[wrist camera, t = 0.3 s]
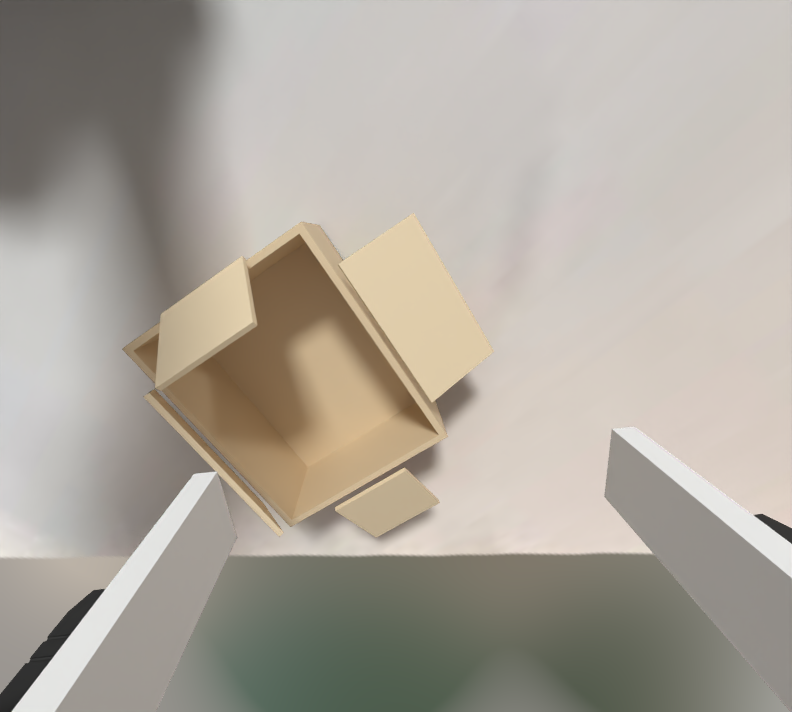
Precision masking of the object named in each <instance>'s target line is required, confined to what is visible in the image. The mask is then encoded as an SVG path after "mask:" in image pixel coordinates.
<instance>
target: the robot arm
mask: <svg viewBox="0 0 792 712" xmlns="http://www.w3.org/2000/svg"><path fill="white" fill-rule="evenodd" d="M604 497H605V498H606V499H607V500H608V501H609V503H610V504H611V505H612V506H613V507H614V508H615V510H616V511H617V512H618V513H619V514H620V515H621V516H622V518H623V519H624V520H625V521H626V522H627V523H628V525H629V526H630V527H631V528H632V529H633V530H634V531H635V533H636V534H637V535H638V536H639V537H640V538H641V540H642V541H643V542H644V543H645V544H646V545H647V546H648V548H649V549H650V550H651V551H652V552H653V553H654V555H655V556H656V557H657V558H658V559H659V560H660V562H661V563H662V564H663V565H664V566H665V567H666V568H667V570H668V571H669V572H670V573H671V574H672V575H673V577H674V578H675V579H676V580H677V581H678V582H679V583H680V585H681V586H682V587H683V588H684V589H685V590H686V592H687V593H688V594H689V595H690V596H691V597H692V598H693V600H694V601H695V602H696V603H697V604H698V605H699V607H700V608H701V609H702V610H703V611H704V612H705V613H706V615H707V616H708V617H709V618H710V619H711V620H712V622H713V623H714V624H715V625H716V626H717V627H718V629H719V630H720V631H721V632H722V633H723V634H724V635H725V637H726V638H727V639H728V640H729V641H730V642H731V644H732V645H733V646H734V647H735V648H736V649H737V650H738V652H739V653H740V654H741V655H742V656H743V657H744V659H746V661H747V662H748V663H749V664H750V665H751V667H752V668H753V669H754V670H755V671H756V672H757V674H758V675H759V676H760V677H761V678H762V679H763V680H764V682H765V683H766V684H767V685H768V686H769V687H770V689H771V690H772V691H773V692H774V693H775V694H776V696H778V698H779V699H780V700H781V701H782V702H783V704H784V705H785V706H786V707H787V708H788V709H789V711H790V712H792V528H790V527H788V526H786V525H784V524H782V523H780V522H778V521H776V520H774V519H771V518H769V517H767V516H765V515H763V514H757V515H752V514H751V513H750V512H748V511H747V510H746V509H744V508H743V507H742V506H740V505H739V504H738V503H736V502H735V501H734V500H732V499H731V498H730V497H728V496H727V495H726V494H724V493H723V492H722V491H720V490H719V489H717V488H716V487H715V486H713V485H712V484H711V483H709V482H708V481H707V480H705V479H704V478H703V477H701V476H700V475H699V474H697V473H696V472H695V471H693V470H692V469H691V468H689V467H688V466H687V465H685V464H684V463H683V462H681V461H680V460H679V459H677V458H676V457H675V456H673V455H672V454H671V453H669V452H668V451H667V450H665V449H664V448H663V447H661V446H660V445H659V444H657V443H656V442H655V441H653V440H652V439H651V438H649V437H648V436H647V435H645V434H644V433H642V432H641V431H640V430H638V429H637V428H636V427H626V428H616V429H612V433H611V442H610V451H609V460H608V469H607V478H606V487H605V496H604ZM236 538H237V536H236V533H235V529H234V526H233V522H232V519H231V516H230V512H229V509H228V506H227V502H226V499H225V495H224V492H223V489H222V485H221V482H220V478H219V475H218V472H208V473H199V474H194V475H193V476H192V477H191V479H190V480H189V481H188V482H187V484H186V485H185V486H184V488H183V489H182V490H181V492H180V493H179V494H178V495H177V497H176V498H175V499H174V501H173V502H172V503H171V505H170V506H169V507H168V508H167V510H166V511H165V512H164V514H163V515H162V516H161V518H160V519H159V520H158V521H157V523H156V524H155V525H154V527H153V528H152V529H151V531H150V532H149V533H148V535H147V536H146V537H145V538H144V540H143V541H142V542H141V544H140V545H139V546H138V548H137V549H136V550H135V551H134V553H133V554H132V555H131V557H130V558H129V559H128V561H127V562H126V563H125V564H124V566H123V567H122V569H121V570H120V571H119V572H118V574H117V575H116V576H115V577H114V579H113V580H112V581H111V583H110V584H109V585H108V587H107V588H106V589H101V590H94V591H92V592H91V593H90V594H88V595H87V596H86V597H85V598H84V599H83V600H81V601H80V602H79V603H78V604H77V605H76V606H74V607H73V608H72V609H71V610H70V611H68V613H67V614H66V615H65V616H64V617H63V619H62V620H61V621H60V622H59V624H58V625H57V626H56V627H55V628H54V630H53V631H52V632H51V633H50V634H49V636H48V639H47V641H45V642H43V643H42V644H41V645H40V647H39V648H38V649H37V650H36V651H35V653H34V654H33V655H32V656H31V658H30V662H29V663H26V664H25V665H24V666H23V667H22V669H21V670H20V671H19V672H18V673H17V675H16V676H15V677H14V678H13V680H12V681H11V682H10V683H9V685H8V686H7V687H6V688H5V689H4V690H3V692H2V693H1V694H0V712H156V710H157V708H158V706H159V704H160V702H161V700H162V697H163V695H164V693H165V691H166V689H167V687H168V685H169V682H170V680H171V678H172V676H173V674H174V672H175V670H176V667H177V665H178V663H179V661H180V659H181V657H182V654H183V652H184V650H185V648H186V646H187V643H188V642H189V639H190V637H191V635H192V633H193V631H194V629H195V626H196V624H197V622H198V620H199V618H200V616H201V614H202V611H203V609H204V607H205V605H206V603H207V601H208V599H209V596H210V594H211V592H212V590H213V588H214V586H215V583H216V581H217V579H218V577H219V575H220V573H221V571H222V568H223V566H224V564H225V562H226V560H227V558H228V556H229V553H230V551H231V549H232V547H233V545H234V543H235V541H236Z"/></svg>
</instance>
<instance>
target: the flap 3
mask: <svg viewBox="0 0 792 712" xmlns="http://www.w3.org/2000/svg"><path fill="white" fill-rule="evenodd" d="M338 266H339V268H340V269H341V271H342V272H343V274H344V275H345V277H346V278H347V280H348V281H349V283H350V284H351V286H352V287H353V288H354V290H355V291H356V293H357V294H358V296H359V297H360V299H361V300H362V302H363V303H364V305H365V306H366V308H367V309H368V311H369V312H370V314H371V315H372V317H373V318H374V320H375V321H376V322H377V324H378V325H379V327H380V328H381V330H382V331H383V333H384V334H385V336H386V337H387V339H388V340H389V342H390V343H391V345H392V346H393V348H394V349H395V351H396V352H397V353H398V355H399V356H400V358H401V359H402V361H403V362H404V364H405V365H406V367H407V368H408V370H409V371H410V373H411V374H412V376H413V377H414V379H415V380H416V382H417V383H418V385H419V386H420V387H421V389H422V390H423V392H424V393H425V395H426V396H427V398H428V399H429V401H430V402H434V401H435V400H436V399H437V398H438V397H440V396H441V395H442V394H443V393H444V392H446V391H447V390H448V389H449V388H451V387H452V386H453V385H454V384H455V383H457V382H458V381H459V380H460V379H461V378H463V377H464V376H465V375H466V374H467V373H469V372H470V371H471V370H472V369H473V368H475V367H476V366H477V365H478V364H479V363H481V362H482V361H483V360H484V359H486V358H487V357H488V356H489V355H490V354H492V353H493V352H494V351H493V349H492V347H491V345H490V344H489V342H488V340H487V339H486V337H485V335H484V333H483V332H482V330H481V328H480V326H479V325H478V323H477V321H476V320H475V318H474V316H473V314H472V313H471V311H470V309H469V307H468V306H467V304H466V302H465V301H464V299H463V297H462V295H461V294H460V292H459V290H458V288H457V287H456V285H455V283H454V282H453V280H452V278H451V276H450V275H449V273H448V271H447V270H446V268H445V266H444V264H443V263H442V261H441V259H440V257H439V256H438V254H437V252H436V251H435V249H434V247H433V245H432V244H431V242H430V240H429V238H428V237H427V235H426V233H425V232H424V230H423V228H422V226H421V225H420V223H419V221H418V219H417V218H416V216H415V214H414V213H413V214H411V215H410V216H408V217H407V218H405V219H404V220H402V221H401V222H399V223H398V224H396V225H395V226H394V227H392V228H391V229H389V230H388V231H386V232H385V233H383V234H382V235H380V236H379V237H377V238H376V239H374V240H373V241H372V242H370V243H369V244H367V245H366V246H364V247H363V248H361V249H360V250H358V251H357V252H355V253H354V254H352V255H351V256H349V257H348V258H347V259H345V260H344V261H342V262H341V263H339V264H338Z"/></svg>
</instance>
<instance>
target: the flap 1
mask: <svg viewBox="0 0 792 712" xmlns="http://www.w3.org/2000/svg"><path fill="white" fill-rule="evenodd" d="M256 326H257V320H256V314H255V308H254V303H253V297H252V291H251V285H250V279H249V274H248V268H247V262H246V259H245V258H244V257H243V256H242V257H240V258H239V259H237V260H236V261H235V262H233V263H232V264H230V265H229V266H228V267H226V268H225V269H223V270H222V271H221V272H219V273H218V274H216V275H215V276H213V277H212V278H211V279H209V280H208V281H206V282H205V283H204V284H202V285H201V286H199V287H198V288H197V289H195V290H194V291H192V292H191V293H190V294H188V295H187V296H185V297H184V298H183V299H181V300H180V301H178V302H177V303H176V304H174V305H173V306H171V307H170V308H169V309H167V310H166V311H164V312H163V313H162V314H161V317H160V330H159V342H158V355H157V368H156V381H155V389H157V390H159V391H161V390H163V389H164V388H166V387H167V386H169V385H170V384H172V383H173V382H175V381H176V380H178V379H179V378H181V377H182V376H184V375H185V374H187V373H188V372H190V371H191V370H192V369H194V368H195V367H197V366H198V365H200V364H201V363H203V362H204V361H206V360H207V359H209V358H210V357H212V356H213V355H215V354H216V353H218V352H219V351H221V350H222V349H224V348H225V347H226V346H228V345H229V344H231V343H232V342H234V341H235V340H237V339H238V338H240V337H241V336H243V335H244V334H246V333H247V332H249V331H250V330H252V329H253V328H255V327H256Z"/></svg>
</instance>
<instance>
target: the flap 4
mask: <svg viewBox="0 0 792 712" xmlns="http://www.w3.org/2000/svg"><path fill="white" fill-rule="evenodd" d="M438 503H440V502H439V500H438V499H437V498H436V497H435V496H434V495H433V494H432V493H431V492H430V491H429V490H428V489H427V488H426V487H425V486H424V485H423V484H422V483H421V482H420V481H419V480H418V479H416V478H415V477H414V476H413V475H412V474H411V473H410V472H409V471H408V470H407V469H406V468H405V467H404V468H403V469H401V470H399V471H397V472H396V473H394V474H392V475H390V476H389V477H387V478H385V479H383V480H382V481H380V482H378V483H376V484H375V485H373V486H371V487H369V488H368V489H366V490H364V491H363V492H361V493H359V494H357V495H356V496H354V497H352V498H350V499H349V500H347V501H345V502H343V503H342V504H340V505H338V506H336V507H335V511H336V512H338V513H339V514H341V515H342V516H344V517H345V518H347V519H348V520H350V521H351V522H353V523H354V524H356V525H358V526H359V527H361V528H362V529H364V530H365V531H367V532H368V533H370V534H371V535H373V536H374V537H378V536H380V535H382V534H384V533H386V532H387V531H389V530H391V529H393V528H395V527H396V526H398V525H400V524H402V523H404V522H406V521H407V520H409V519H411V518H413V517H415V516H417V515H418V514H420V513H422V512H424V511H426V510H427V509H429V508H431V507H433V506H435V505H437V504H438Z"/></svg>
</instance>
